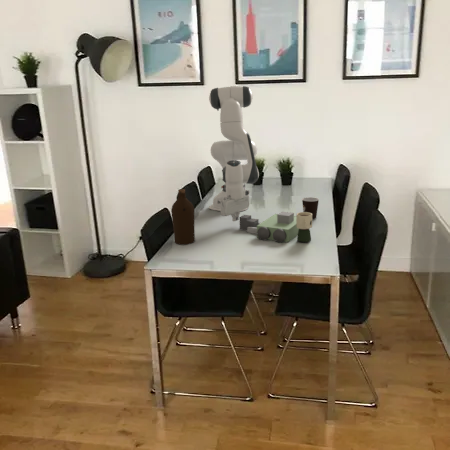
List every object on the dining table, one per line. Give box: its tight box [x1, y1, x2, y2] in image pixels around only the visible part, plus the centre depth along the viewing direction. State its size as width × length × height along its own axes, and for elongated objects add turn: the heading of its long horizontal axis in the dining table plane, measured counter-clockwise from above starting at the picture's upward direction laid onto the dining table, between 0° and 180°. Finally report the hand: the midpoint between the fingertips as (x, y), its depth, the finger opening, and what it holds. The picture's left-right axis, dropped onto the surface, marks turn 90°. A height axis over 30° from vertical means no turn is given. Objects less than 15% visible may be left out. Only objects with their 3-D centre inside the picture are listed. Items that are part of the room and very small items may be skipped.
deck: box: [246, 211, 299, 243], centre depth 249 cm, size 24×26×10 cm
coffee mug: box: [301, 196, 320, 220], centre depth 272 cm, size 12×9×10 cm
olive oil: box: [170, 188, 196, 246], centre depth 238 cm, size 11×11×25 cm
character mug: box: [295, 211, 313, 243], centre depth 234 cm, size 11×7×13 cm, turn 179°
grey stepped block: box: [239, 214, 260, 231], centre depth 256 cm, size 8×5×6 cm, turn 61°
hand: (235, 220), depth 259 cm, fingers closed
